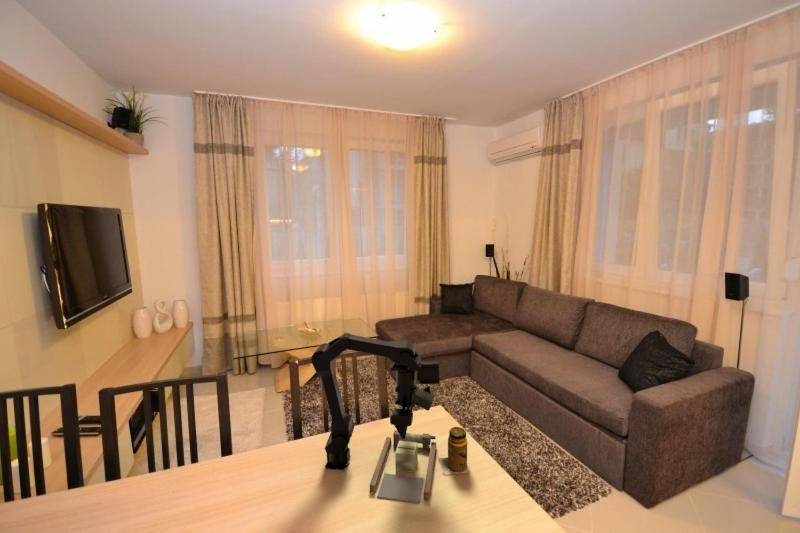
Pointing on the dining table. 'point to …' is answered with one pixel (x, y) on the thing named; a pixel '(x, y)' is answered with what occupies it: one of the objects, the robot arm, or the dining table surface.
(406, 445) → the block
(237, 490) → the dining table surface
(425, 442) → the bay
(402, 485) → the front pad
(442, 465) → the condiment
